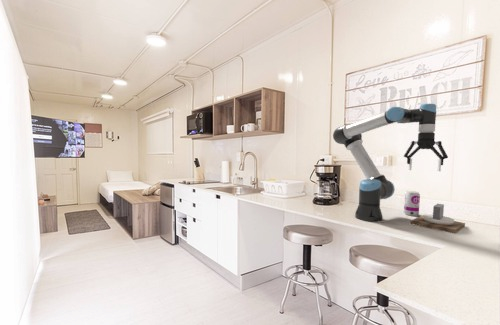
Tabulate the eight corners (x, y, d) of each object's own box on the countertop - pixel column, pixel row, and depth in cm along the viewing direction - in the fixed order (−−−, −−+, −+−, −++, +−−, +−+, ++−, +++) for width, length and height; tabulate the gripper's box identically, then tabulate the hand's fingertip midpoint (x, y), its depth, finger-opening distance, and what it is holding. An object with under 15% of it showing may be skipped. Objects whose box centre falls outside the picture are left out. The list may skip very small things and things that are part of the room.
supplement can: (421, 216, 160) (423, 193, 159) (408, 216, 160) (410, 192, 159) (413, 213, 168) (414, 190, 167) (401, 212, 168) (402, 190, 168)
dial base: (410, 223, 143) (411, 220, 143) (423, 218, 156) (423, 214, 155) (455, 233, 128) (455, 229, 127) (464, 226, 140) (465, 222, 140)
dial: (451, 226, 132) (452, 209, 131) (420, 220, 142) (421, 204, 141) (455, 221, 141) (456, 205, 141) (425, 216, 151) (426, 201, 151)
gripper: (451, 132, 138) (448, 171, 139) (399, 132, 147) (397, 168, 148) (456, 131, 131) (454, 172, 132) (401, 132, 140) (399, 169, 141)
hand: (424, 170), depth 140 cm, fingers open, 13 cm apart
